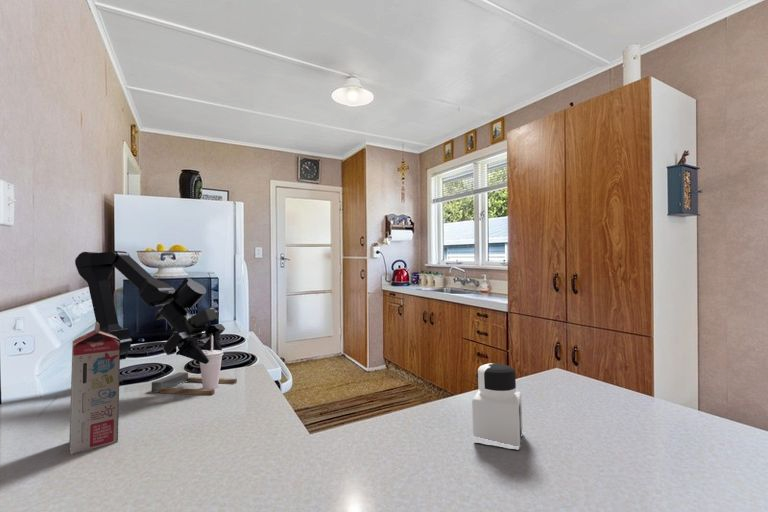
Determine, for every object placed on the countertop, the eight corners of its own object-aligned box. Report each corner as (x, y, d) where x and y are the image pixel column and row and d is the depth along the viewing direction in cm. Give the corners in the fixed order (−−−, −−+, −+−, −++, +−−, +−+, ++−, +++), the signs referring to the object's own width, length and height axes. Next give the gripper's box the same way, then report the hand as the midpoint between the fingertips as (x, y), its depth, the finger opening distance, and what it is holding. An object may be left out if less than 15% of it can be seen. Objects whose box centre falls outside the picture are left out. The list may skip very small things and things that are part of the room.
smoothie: (227, 384, 101) (228, 334, 102) (214, 391, 95) (215, 338, 95) (206, 384, 102) (206, 334, 102) (192, 391, 95) (192, 338, 96)
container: (523, 433, 66) (520, 362, 67) (519, 452, 59) (516, 373, 60) (480, 426, 70) (478, 359, 70) (473, 443, 63) (470, 368, 63)
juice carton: (113, 431, 71) (116, 319, 72) (117, 442, 66) (120, 322, 67) (69, 441, 66) (73, 323, 68) (70, 454, 61) (74, 326, 63)
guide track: (149, 392, 95) (150, 382, 95) (180, 380, 106) (180, 371, 106) (211, 394, 92) (212, 385, 92) (236, 382, 103) (236, 373, 103)
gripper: (173, 301, 91) (212, 345, 89) (219, 297, 109) (252, 333, 107) (146, 332, 92) (183, 377, 89) (196, 323, 110) (228, 359, 108)
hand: (215, 359), depth 98 cm, fingers closed on smoothie, 6 cm apart
